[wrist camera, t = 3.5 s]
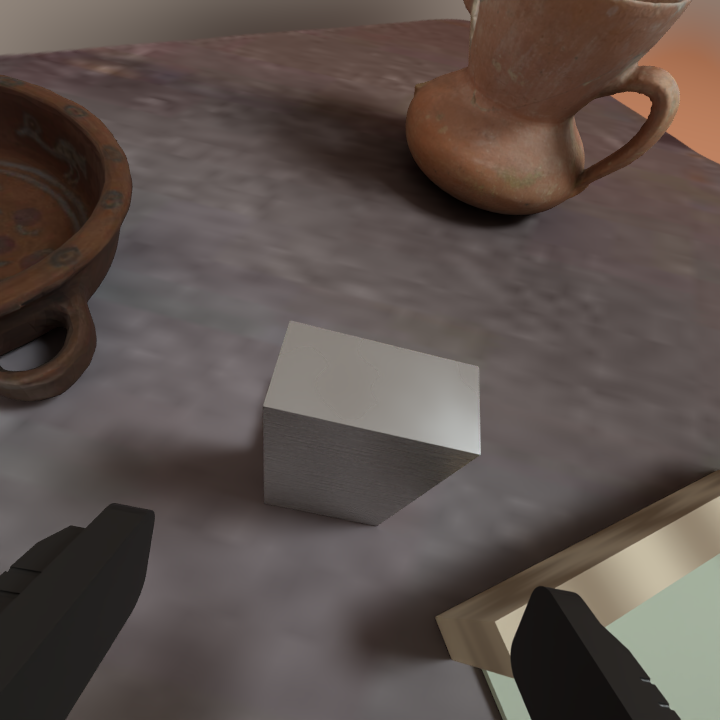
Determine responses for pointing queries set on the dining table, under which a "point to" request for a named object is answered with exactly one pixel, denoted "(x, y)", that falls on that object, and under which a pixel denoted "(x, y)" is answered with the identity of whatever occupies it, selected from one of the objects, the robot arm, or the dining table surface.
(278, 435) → the rectangular block
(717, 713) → the mat
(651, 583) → the corner
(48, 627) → the robot arm
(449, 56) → the dining table surface
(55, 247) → the dish
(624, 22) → the ceramic jug
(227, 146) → the dining table surface
